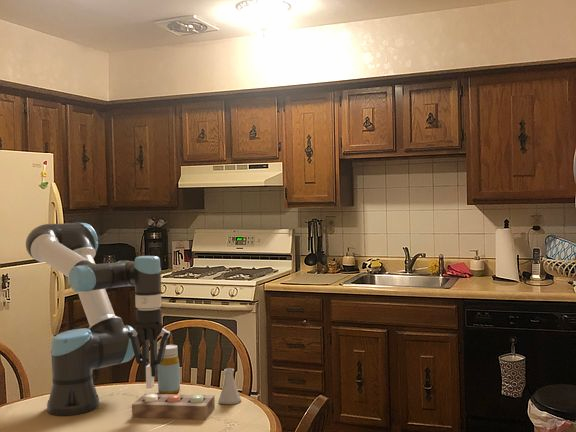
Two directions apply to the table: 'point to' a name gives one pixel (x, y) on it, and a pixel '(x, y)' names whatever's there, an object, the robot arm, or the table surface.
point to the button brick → (173, 398)
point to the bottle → (169, 371)
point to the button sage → (196, 399)
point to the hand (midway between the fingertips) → (150, 386)
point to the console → (173, 408)
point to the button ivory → (151, 398)
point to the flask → (229, 389)
